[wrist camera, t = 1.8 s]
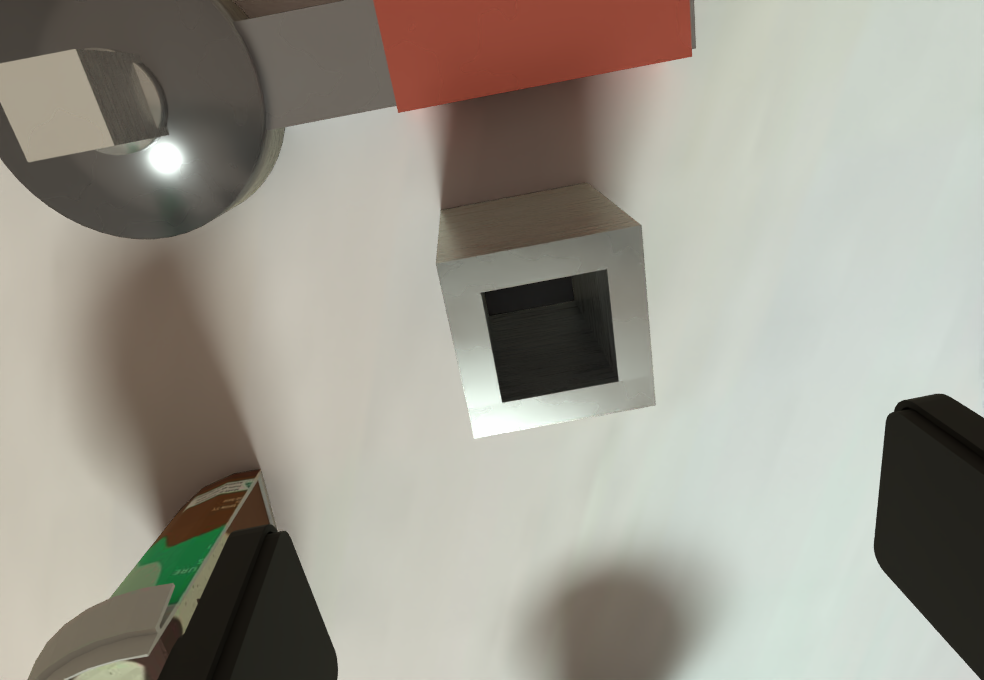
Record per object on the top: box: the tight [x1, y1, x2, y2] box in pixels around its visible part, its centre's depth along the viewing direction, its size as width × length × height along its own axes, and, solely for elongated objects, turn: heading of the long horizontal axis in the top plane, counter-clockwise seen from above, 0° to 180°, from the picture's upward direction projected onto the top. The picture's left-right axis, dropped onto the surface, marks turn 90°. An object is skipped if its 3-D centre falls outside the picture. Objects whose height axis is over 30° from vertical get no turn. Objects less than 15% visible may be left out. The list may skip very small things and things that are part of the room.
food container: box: [28, 469, 277, 680], centre depth 23 cm, size 12×6×10 cm, turn 4°
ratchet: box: [0, 0, 696, 239], centre depth 18 cm, size 21×8×6 cm, turn 100°
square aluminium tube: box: [436, 183, 656, 438], centre depth 20 cm, size 5×5×7 cm
